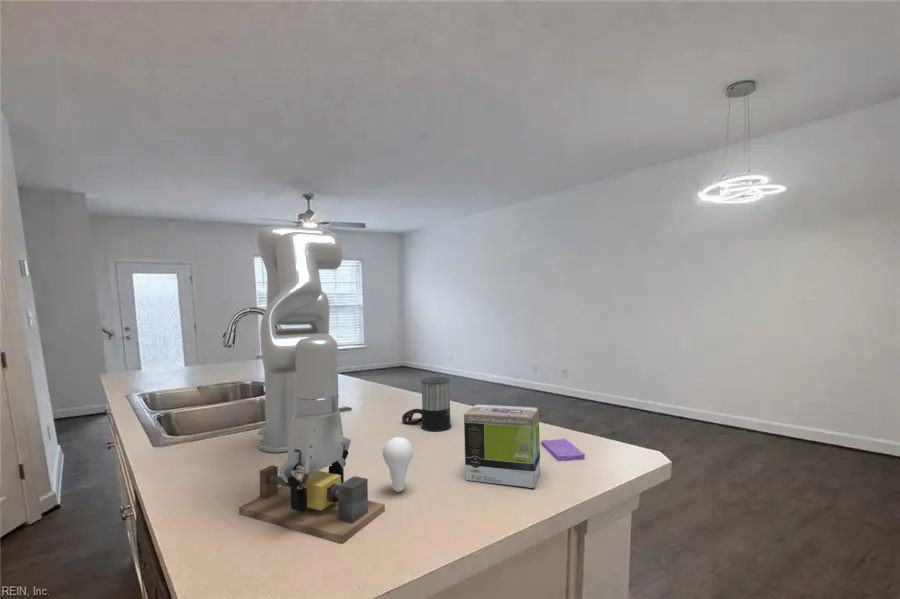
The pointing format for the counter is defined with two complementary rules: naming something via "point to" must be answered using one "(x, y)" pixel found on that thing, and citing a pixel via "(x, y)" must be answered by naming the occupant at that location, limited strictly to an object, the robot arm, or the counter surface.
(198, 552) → the counter surface
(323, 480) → the sleeve
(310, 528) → the cable rail
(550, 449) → the sponges
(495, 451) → the tea box
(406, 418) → the milk frother
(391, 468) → the lightbulb
